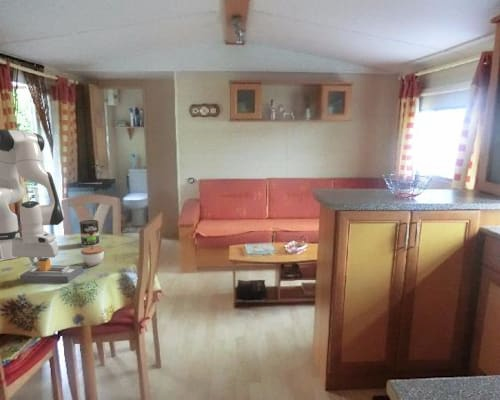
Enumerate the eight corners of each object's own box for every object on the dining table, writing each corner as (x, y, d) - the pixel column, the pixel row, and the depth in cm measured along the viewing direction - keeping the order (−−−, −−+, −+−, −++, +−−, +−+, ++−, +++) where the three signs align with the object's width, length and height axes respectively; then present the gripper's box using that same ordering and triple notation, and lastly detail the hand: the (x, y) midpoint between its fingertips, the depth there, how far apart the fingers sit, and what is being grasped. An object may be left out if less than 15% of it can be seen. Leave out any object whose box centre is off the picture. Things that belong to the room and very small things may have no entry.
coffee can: (101, 245, 219) (99, 222, 216) (82, 248, 213) (81, 224, 211) (98, 241, 227) (96, 218, 225) (79, 243, 222) (78, 221, 219)
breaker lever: (39, 271, 169) (38, 260, 168) (44, 268, 173) (43, 257, 172) (45, 271, 169) (44, 260, 168) (50, 268, 172) (49, 257, 172)
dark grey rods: (47, 269, 180) (46, 266, 180) (50, 267, 183) (50, 264, 183) (80, 270, 179) (80, 267, 179) (83, 267, 182) (83, 265, 182)
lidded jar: (78, 263, 188) (77, 246, 186) (98, 258, 196) (97, 241, 194) (88, 269, 181) (86, 250, 179) (108, 263, 189) (107, 246, 187)
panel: (20, 281, 165) (19, 272, 164) (38, 271, 178) (37, 262, 177) (68, 282, 164) (67, 273, 163) (82, 271, 177) (82, 263, 176)
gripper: (6, 238, 165) (10, 267, 168) (50, 239, 164) (53, 268, 167) (16, 234, 171) (19, 263, 174) (58, 235, 170) (61, 263, 173)
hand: (36, 265), depth 170 cm, fingers closed
